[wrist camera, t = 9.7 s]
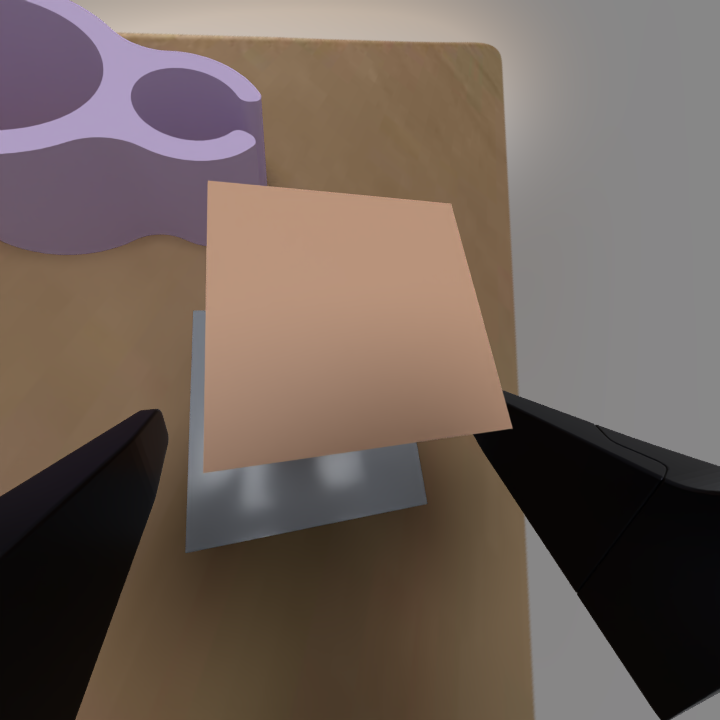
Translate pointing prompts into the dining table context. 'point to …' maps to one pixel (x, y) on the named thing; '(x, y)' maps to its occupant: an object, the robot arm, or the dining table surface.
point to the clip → (113, 133)
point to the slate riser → (288, 482)
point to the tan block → (338, 327)
